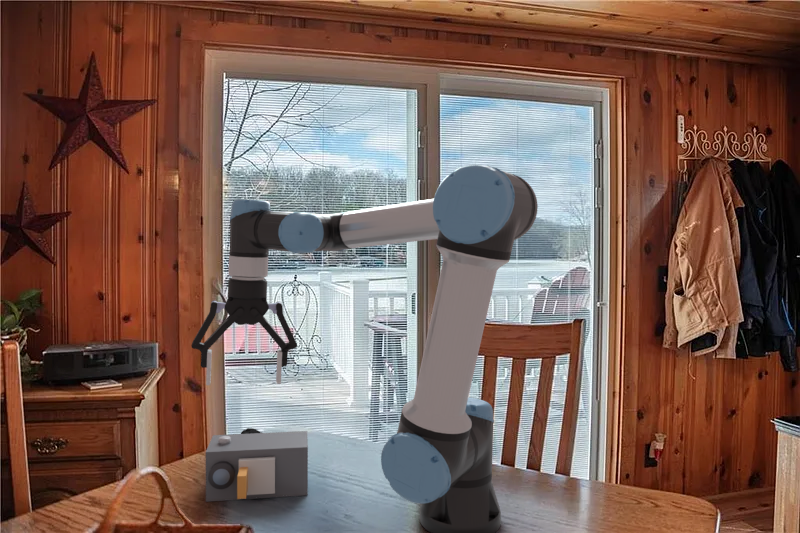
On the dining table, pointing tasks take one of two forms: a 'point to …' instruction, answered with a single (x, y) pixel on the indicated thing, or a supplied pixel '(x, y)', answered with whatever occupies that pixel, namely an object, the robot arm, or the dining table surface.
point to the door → (256, 476)
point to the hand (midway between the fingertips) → (244, 382)
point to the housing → (280, 445)
